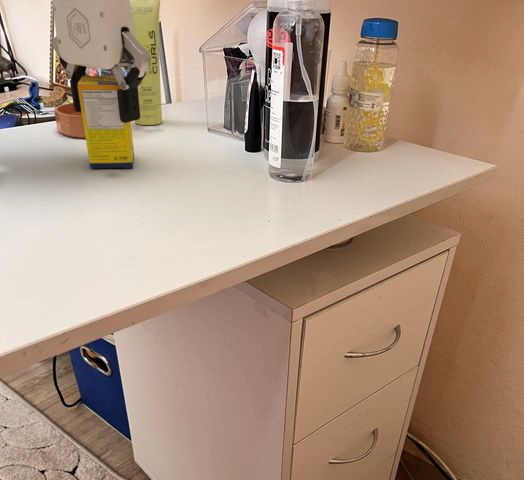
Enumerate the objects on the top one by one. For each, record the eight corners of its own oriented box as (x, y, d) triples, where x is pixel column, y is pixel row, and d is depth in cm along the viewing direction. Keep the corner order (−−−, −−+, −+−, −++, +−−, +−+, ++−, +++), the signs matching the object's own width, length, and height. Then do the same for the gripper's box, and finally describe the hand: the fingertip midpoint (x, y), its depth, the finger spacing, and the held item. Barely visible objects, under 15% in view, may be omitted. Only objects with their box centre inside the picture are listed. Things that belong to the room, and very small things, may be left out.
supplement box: (134, 156, 80) (126, 75, 73) (133, 168, 75) (124, 83, 69) (93, 156, 79) (81, 74, 72) (89, 169, 74) (76, 82, 68)
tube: (147, 128, 93) (135, -6, 82) (125, 123, 95) (111, -8, 84) (168, 122, 97) (160, -7, 85) (147, 117, 99) (136, -9, 88)
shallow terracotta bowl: (46, 136, 87) (41, 113, 85) (75, 120, 95) (72, 99, 93) (110, 141, 86) (107, 118, 83) (134, 125, 94) (132, 104, 92)
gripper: (13, -46, 64) (42, 109, 74) (117, -40, 57) (134, 131, 67) (63, -44, 69) (84, 101, 79) (164, -39, 62) (173, 121, 72)
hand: (107, 114), depth 73 cm, fingers closed on supplement box, 8 cm apart
